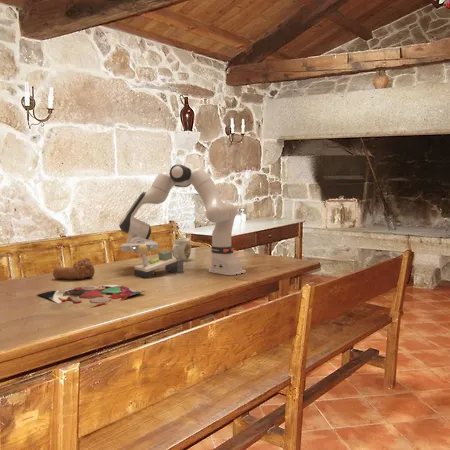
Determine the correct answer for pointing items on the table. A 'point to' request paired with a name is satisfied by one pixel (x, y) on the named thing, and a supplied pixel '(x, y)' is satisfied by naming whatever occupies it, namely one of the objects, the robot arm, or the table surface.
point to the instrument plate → (155, 265)
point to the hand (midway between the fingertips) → (142, 249)
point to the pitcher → (182, 249)
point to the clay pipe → (75, 270)
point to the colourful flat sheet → (91, 294)
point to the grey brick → (173, 267)
